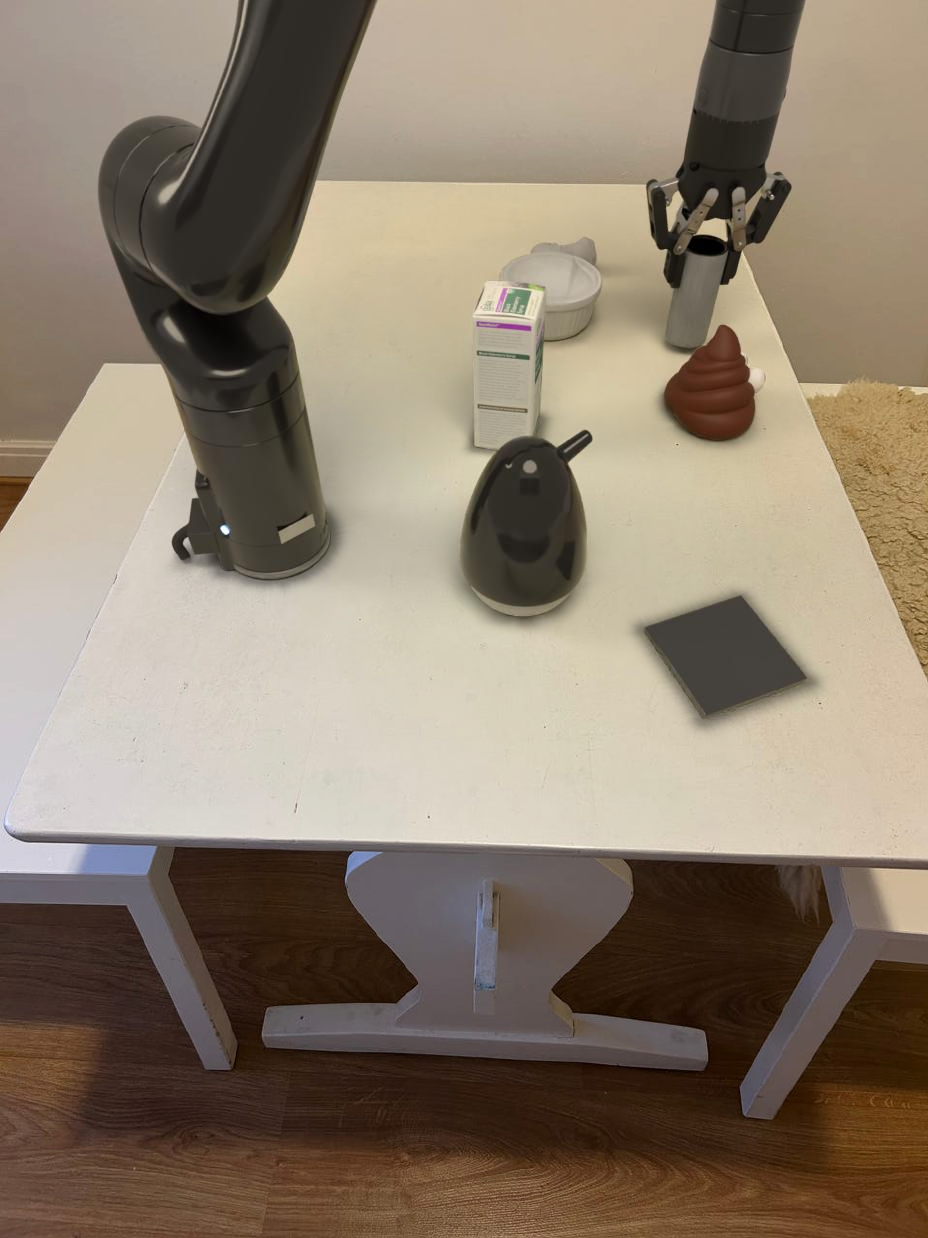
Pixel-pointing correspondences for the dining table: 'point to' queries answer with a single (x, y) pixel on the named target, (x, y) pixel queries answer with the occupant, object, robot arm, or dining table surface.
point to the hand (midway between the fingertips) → (697, 282)
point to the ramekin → (559, 289)
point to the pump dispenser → (526, 527)
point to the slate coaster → (724, 656)
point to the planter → (696, 291)
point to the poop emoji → (715, 389)
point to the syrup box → (507, 361)
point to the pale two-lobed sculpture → (571, 249)
